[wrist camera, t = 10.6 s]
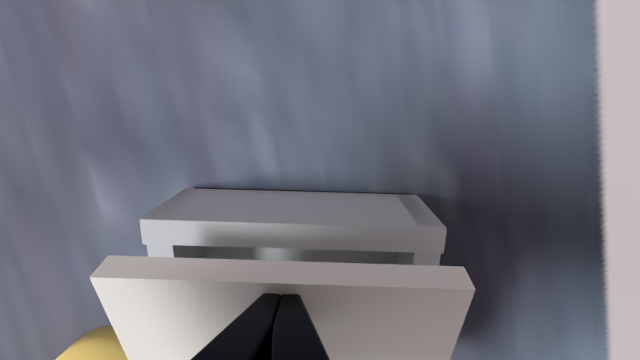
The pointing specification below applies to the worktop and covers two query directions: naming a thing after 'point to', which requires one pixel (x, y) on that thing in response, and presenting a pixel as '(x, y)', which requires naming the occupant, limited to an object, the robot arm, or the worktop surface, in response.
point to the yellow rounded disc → (95, 346)
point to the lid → (281, 278)
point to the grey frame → (295, 227)
